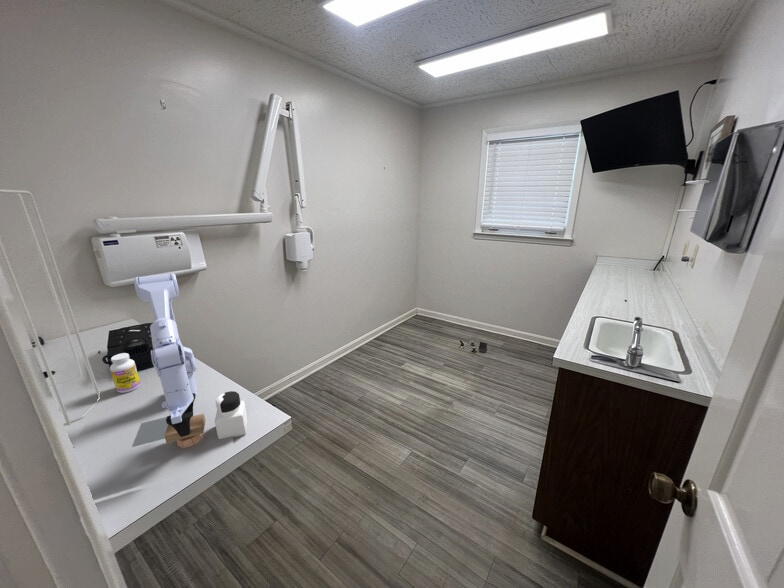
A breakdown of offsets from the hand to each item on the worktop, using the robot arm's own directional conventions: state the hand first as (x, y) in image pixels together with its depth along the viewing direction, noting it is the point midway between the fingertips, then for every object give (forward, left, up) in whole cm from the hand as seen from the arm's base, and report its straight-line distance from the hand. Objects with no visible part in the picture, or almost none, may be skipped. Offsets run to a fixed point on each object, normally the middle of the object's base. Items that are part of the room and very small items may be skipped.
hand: (186, 427), depth 86 cm
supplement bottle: (-38, -23, -5) cm, 45 cm away
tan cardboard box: (0, 0, -1) cm, 1 cm away
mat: (-8, -9, -5) cm, 13 cm away
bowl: (0, 0, -5) cm, 5 cm away
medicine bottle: (0, +11, -5) cm, 12 cm away
